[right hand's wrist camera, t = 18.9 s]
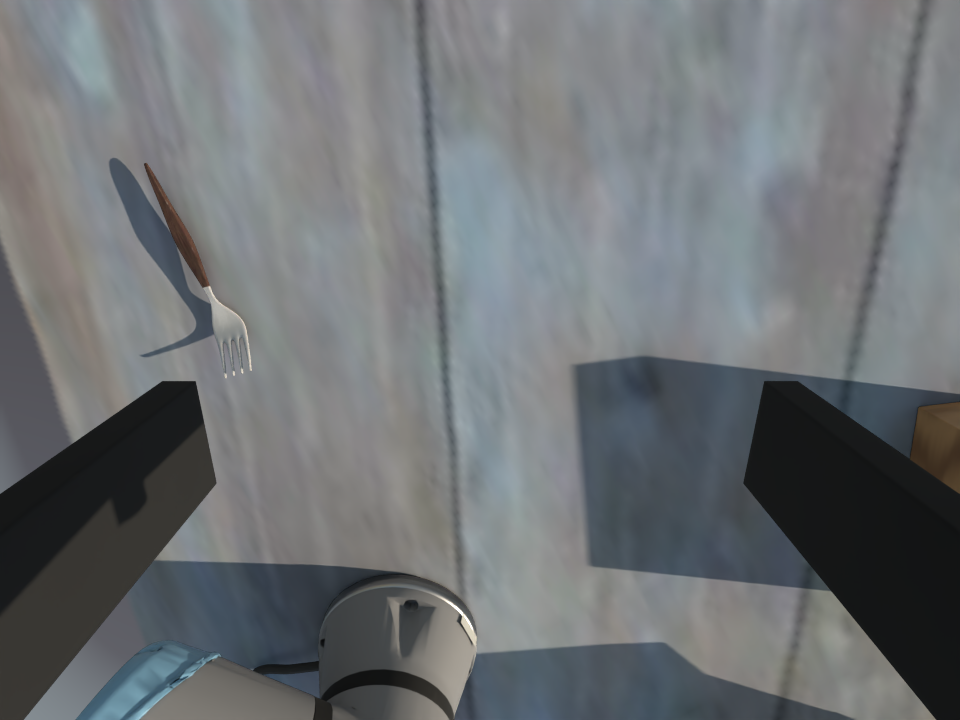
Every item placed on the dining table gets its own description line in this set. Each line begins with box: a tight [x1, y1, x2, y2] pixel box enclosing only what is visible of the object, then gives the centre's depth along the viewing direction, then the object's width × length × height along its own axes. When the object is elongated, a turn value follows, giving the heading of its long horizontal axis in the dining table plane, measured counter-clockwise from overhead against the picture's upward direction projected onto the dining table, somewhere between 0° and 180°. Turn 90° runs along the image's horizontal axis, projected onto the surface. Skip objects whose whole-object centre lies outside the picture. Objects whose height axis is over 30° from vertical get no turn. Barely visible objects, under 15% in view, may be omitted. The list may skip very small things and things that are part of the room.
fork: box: [144, 163, 251, 378], centre depth 39 cm, size 3×16×2 cm, turn 17°
